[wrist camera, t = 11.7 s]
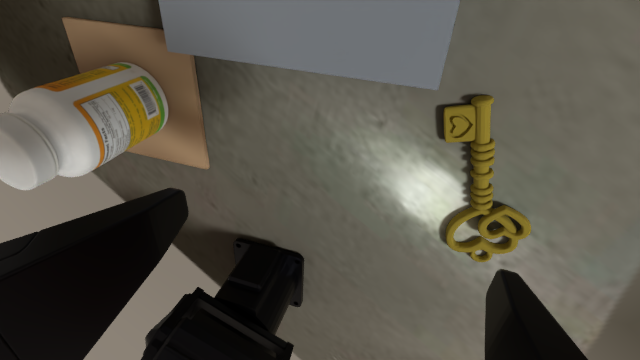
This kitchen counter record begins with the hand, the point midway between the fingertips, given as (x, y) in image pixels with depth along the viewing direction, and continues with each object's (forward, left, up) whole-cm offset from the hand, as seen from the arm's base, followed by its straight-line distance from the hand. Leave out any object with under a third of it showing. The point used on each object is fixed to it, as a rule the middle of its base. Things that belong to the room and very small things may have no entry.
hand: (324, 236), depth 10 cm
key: (-5, -7, -14) cm, 16 cm away
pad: (-3, +18, -13) cm, 22 cm away
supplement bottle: (-3, +18, -13) cm, 22 cm away
